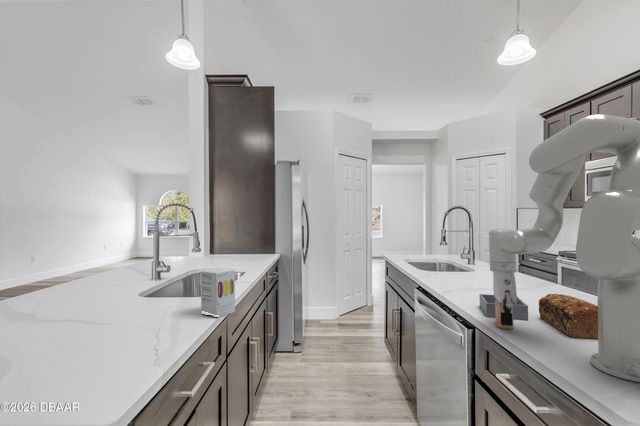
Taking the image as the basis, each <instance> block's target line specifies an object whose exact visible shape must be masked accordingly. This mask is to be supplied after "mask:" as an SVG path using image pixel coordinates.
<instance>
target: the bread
mask: <svg viewBox="0 0 640 426" xmlns="http://www.w3.org/2000/svg"><path fill="white" fill-rule="evenodd" d="M538 313H539V317H540V319H541V320H543V321H544V322H545V323H547V324H548V325H551V327H553V328H555V329H556V330H558V331H559V332H561V333H562V334H564V335H567V336H569V337H572V338H576V339H592V340H593V339H594V340H598V305H596V304H594V303H591V302H588V301H587V300H584V299H580V298H578V297H575V296H572V295H569V294H568V295H566V294H562V293H560V294H557V293H548V294H547V295H545V296H542V297H541V298H540V299H539V300H538Z"/></svg>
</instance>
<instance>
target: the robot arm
mask: <svg viewBox="0 0 640 426" xmlns="http://www.w3.org/2000/svg"><path fill="white" fill-rule="evenodd" d="M592 153H599V154H602V153H603V154H613V155H615V156H616V161H615V162H614V165H613V166H612V169H611V171H610V177H609V178H610V181H609V185H608V189H606V190H602V191H599V192H596V193H594V194H593V195H591V196H590V197H588V199H587V200H586V201H585V202H584V204H583V206H582V208H581V211H580V215H579V223H578V228H577V229H578V231H577V238H576V245H575V260H576V263H577V266H578V267H579V269H580V271H582V273H584V274H585V275H586V276H588V277H590V278H592V279H595V280H598V284H597V305H596V306H598V339H597V348H598V349H597V350H598V351H597V353H594V354H592V355H590V357H589V358H590V359H589V361H590V364H591V365H592V366H593V367H595V368H596V369H598V370H599V371H601V372H603V373H605V374H608V375H611V376H613V377H616V378H620V379H623V380H627V381H631V382H637V383H640V238H639V237H634V236H633V232H635V231H640V120H638V119H634V118H633V119H632V118H628V117H624V116H616V115H612V114H605V113H603V114H602V113H600V114H599V113H596V114H590V115H587V116H585V117H582V118H580V119H579V120H577V121H575V122H573V123H572V124H570V125H568V126H566V127H565V128H563V129H561V130H560V131H559V132H556V133H555V134H553V135H552V136H550V137H548V138H547V139H545V140H543V141H542V142H541V143H539V144H538V145H537V146H536V147H535V148H534V149H533V150H532V151H531V153H530V155H529V158H528V164H529V167H530V169H531V170H532V171H533V172H535V173H537V176H536V178H535V180H534V183H533V185H532V187H531V189H530V191H529V193H528V196H529V198H530V200H531V201H532V202H534V203H535V204H536V206H537V209H538V213H537V214H538V215H537V218H536V221H535V223H534V224H533V225H532V228H524V229H523V228H522V229H509V228H508V229H507V228H496V229H495V228H494V229H493V228H492V229H491V230H490V231H489V233H488V243H489V245H488V246H489V271H490V272H493V273H492V274H493V276H492V280H493V281H492V283H493V284H492V286H493V287H492V289H493V295H494V297H495V298H496V299H497V300H498V301H499V302H500V303H501V310H502V312H501V324H502V325H508V326H512V325H513V326H514V319H513V320H512V302H513V303H514V304H517V297H518V293H517V282H516V276H515V273H517V255H528V254H529V255H530V254H537V253H538V254H539V253H544V252H546V251H547V250H549V249H550V248H551V247H552V245H554V243H555V241H556V239H557V237H558V236H559V233H560V232H561V230H562V227H563V224H564V203H565V200H566V198H567V197H568V195H569V193H570V191H571V189H572V187H573V185H574V183H575V181H576V179H577V177H578V175H580V172H581V169H582V168H583V166H584V164H585V160H586V156H587V155H589V154H592ZM503 301H506V303H503ZM504 305H506V306H505V307H504Z"/></svg>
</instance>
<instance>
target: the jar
mask: <svg viewBox="0 0 640 426" xmlns="http://www.w3.org/2000/svg"><path fill="white" fill-rule="evenodd" d="M503 303H506V301H503ZM505 306H506V305H504V307H505ZM501 312H502V310H501V303H500V302H499V301H498V300H495V315H496V318H495V326H496V327H498V328H500V329H504V330H505V329H506V330H511V329H513V328H514V324H513V325H512V326H508V325H502V324H501ZM512 320H513V321H514V319H513V302H512Z"/></svg>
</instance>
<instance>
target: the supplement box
mask: <svg viewBox="0 0 640 426" xmlns="http://www.w3.org/2000/svg"><path fill="white" fill-rule="evenodd" d="M235 271H236V270H235V269H233V268H223V267H218V268H214V269H213V268H212V269H208V270H202V271H200V301H201V302H200V303H201V304H200V305H201V307H200V309H201V310H202V311H205V312H208V313H211V314H214V315H219V316H220V317H219V318H221V317H224V316H226V315H231V314H232V313H235V312H236V287H235V286H236V281H235V280H236V279H235V278H236V277H235V276H236V274H235V273H236V272H235Z"/></svg>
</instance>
